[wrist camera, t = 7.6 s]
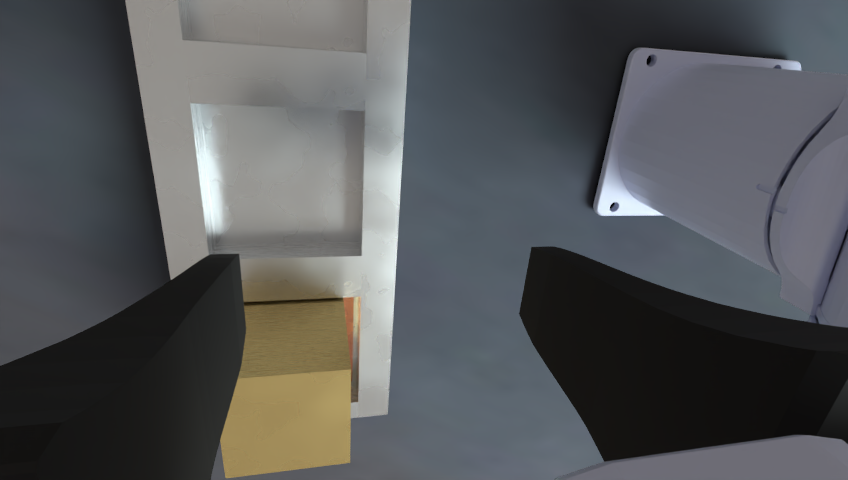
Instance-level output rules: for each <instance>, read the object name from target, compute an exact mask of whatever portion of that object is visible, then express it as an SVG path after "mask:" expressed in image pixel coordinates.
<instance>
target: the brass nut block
mask: <svg viewBox="0 0 848 480" xmlns="http://www.w3.org/2000/svg"><path fill="white" fill-rule="evenodd" d="M244 311H245V322H246V335H245V343H244V351H243V357H242V364H241V369H240V372H239V376H238V380H237V383H236V387H235V390H234V394H233V397H232V401H231V404H230V408H229V411H228V415H227V418H226V421H225V425H224V428H223V432H222V435H221V439H220V441H221V448H222V455H223V463H224V470H225V477H226V478H232V477H240V476H248V475H256V474H264V473H272V472H280V471H288V470H296V469H303V468H311V467H319V466H327V465H335V464H343V463H350V421H351V364H350V355H349V345H348V336H347V327H346V318H345V309H344V299H343V298H322V299H300V300H277V301H255V302H244Z"/></svg>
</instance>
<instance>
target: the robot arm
mask: <svg viewBox="0 0 848 480" xmlns="http://www.w3.org/2000/svg"><path fill="white" fill-rule="evenodd" d="M649 56H651V62H650V64H649V65H647V64H646V61H647V58H648V57H649ZM614 202H615V205H614V207H613V208H611V209H610V206H611V204H612V203H614ZM593 209H594V211H595V212H596V213H597V214H599V215H601V216H655V215H665V216H667V217H669V218H671V219H673V220H675V221H676V222H678V223H680V224H682V225H684V226H686V227H688V228H690V229H692V230H693V231H695V232H697V233H699V234H701V235H703V236H705V237H707V238H709V239H710V240H712V241H714V242H716V243H718V244H720V245H722V246H724V247H725V248H727V249H729V250H731V251H733V252H735V253H737V254H739V255H741V256H742V257H744V258H746V259H748V260H750V261H752V262H754V263H756V264H758V265H759V266H761V267H763V268H765V269H767V270H769V271H771V272H773V273H775V274H776V275H778V276H780V277H781V278H782V288H781V292H780V298H782V299H784V300H785V301H787V302H789V303H791V304H792V305H794V306H796V307H798V308H799V309H801V310H803V311H805V312H806V313H808V314H810V317H809V319H808V322H805V321H798V320H792V319H787V318H781V317H776V316H771V315H766V314H761V313H757V312H752V311H748V310H743V309H738V308H734V307H730V306H726V305H722V304H718V303H714V302H711V301H707V300H704V299H700V298H697V297H693V296H690V295H686V294H683V293H680V292H677V291H674V290H671V289H668V288H665V287H662V286H659V285H657V284H654V283H651V282H648V281H645V280H643V279H640V278H637V277H635V276H632V275H630V274H627V273H625V272H622V271H620V270H617V269H615V268H612V267H610V266H607V265H605V264H602V263H600V262H597V261H595V260H592V259H590V258H587V257H585V256H582V255H579V254H577V253H574V252H571V251H568V250H565V249H561V248H557V247H532V248H531V253H530V258H529V264H528V269H527V275H526V280H525V286H524V291H523V296H522V302H521V307H520V313H519V314H520V317H521V319H522V321H523V324H524V326H525V328H526V331H527V333H528V335H529V337H530V339H531V341H532V343H533V345H534V347H535V348H536V350H537V351H538V353H539V355H540V356H541V358H542V359H543V361H544V362H545V364H546V365H547V367H548V368H549V370H550V371H551V373H552V374H553V376H554V377H555V379H556V380H557V382H558V383H559V385H560V386H561V388H562V389H563V391H564V392H565V394H566V395H567V397H568V398H569V400H570V401H571V403H572V404H573V406H574V407H575V409H576V410H577V412H578V414H579V415H580V417H581V419H582V420H583V422H584V424H585V425H586V427H587V429H588V431H589V433H590V434H591V436H592V438H593V440H594V442H595V444H596V446H597V448H598V450H599V452H600V454H601V456H602V458H603V460H604V462H602V463H599V464H596V465H593V466H590V467H587V468H584V469H581V470H578V471H575V472H572V473H569V474H566V475H563V476H560V477H557V478H556V479H554V480H848V75H846V74H835V73H823V72H811V71H801V64H800V63H799V62H798V61H791V60H780V59H768V58H757V57H745V56H734V55H722V54H711V53H699V52H688V51H676V50H665V49H653V48H635V49H634V50H632V52H631V53H630V54H629V56H628V59H627V63H626V68H625V72H624V76H623V80H622V85H621V89H620V93H619V97H618V102H617V106H616V110H615V115H614V119H613V123H612V127H611V132H610V136H609V140H608V144H607V149H606V153H605V157H604V161H603V166H602V170H601V174H600V179H599V183H598V187H597V191H596V196H595V200H594V204H593ZM245 335H246V322H245V311H244V300H243V289H242V279H241V268H240V257H239V254H210V255H208V256H206V257H204V258H203V259H201V260H200V261H198V262H197V263H195V264H194V265H192V266H191V267H190V268H188V269H187V270H185V271H184V272H182V273H181V274H179V275H178V276H176V277H175V278H174V279H172V280H171V281H169V282H168V283H166V284H165V285H163V286H162V287H160V288H159V289H157V290H156V291H154V292H152V293H151V294H149V295H147V296H146V297H144V298H143V299H141V300H139V301H138V302H136V303H134V304H133V305H131V306H129V307H128V308H126V309H124V310H123V311H121V312H119V313H118V314H116V315H114V316H112V317H110V318H108V319H107V320H105V321H103V322H101V323H99V324H97V325H95V326H93V327H91V328H89V329H87V330H85V331H83V332H80V333H78V334H76V335H74V336H72V337H70V338H68V339H66V340H63V341H61V342H59V343H56V344H54V345H51V346H49V347H46V348H44V349H41V350H39V351H37V352H34V353H32V354H29V355H27V356H24V357H22V358H19V359H17V360H14V361H12V362H9V363H7V364H4V365H2V366H0V480H211V474H212V470H213V465H214V461H215V457H216V453H217V449H218V446H219V442H220V439H221V435H222V432H223V428H224V425H225V421H226V418H227V415H228V411H229V408H230V404H231V401H232V397H233V394H234V390H235V387H236V383H237V380H238V376H239V372H240V369H241V364H242V357H243V351H244V343H245Z"/></svg>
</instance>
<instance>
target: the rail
mask: <svg viewBox="0 0 848 480" xmlns="http://www.w3.org/2000/svg"><path fill="white" fill-rule="evenodd" d="M125 2H126V8H127V14H128V20H129V26H130V33H131V39H132V45H133V51H134V57H135V63H136V69H137V76H138V82H139V88H140V94H141V100H142V106H143V112H144V119H145V125H146V131H147V137H148V143H149V149H150V155H151V162H152V168H153V174H154V180H155V186H156V192H157V199H158V205H159V211H160V217H161V223H162V229H163V235H164V242H165V248H166V254H167V260H168V266H169V272H170V278H171V280H172V279H174V278H175V277H176V276H178V275H179V274H181V273H182V272H184V271H185V270H187V269H188V268H190V267H191V266H192V265H194V264H195V263H197V262H198V261H200V260H201V259H203V258H204V257H206V256H208V255H210V254H239V257H240V268H241V279H242V289H243V300H244V302H255V301H277V300H300V299H322V298H343V299H344V309H345V318H346V327H347V336H348V345H349V355H350V364H351V418H357V417H367V416H376V415H386V414H388V397H389V380H390V362H391V345H392V327H393V310H394V292H395V275H396V257H397V240H398V222H399V205H400V188H401V170H402V153H403V135H404V118H405V100H406V83H407V65H408V48H409V30H410V13H411V0H125Z"/></svg>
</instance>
